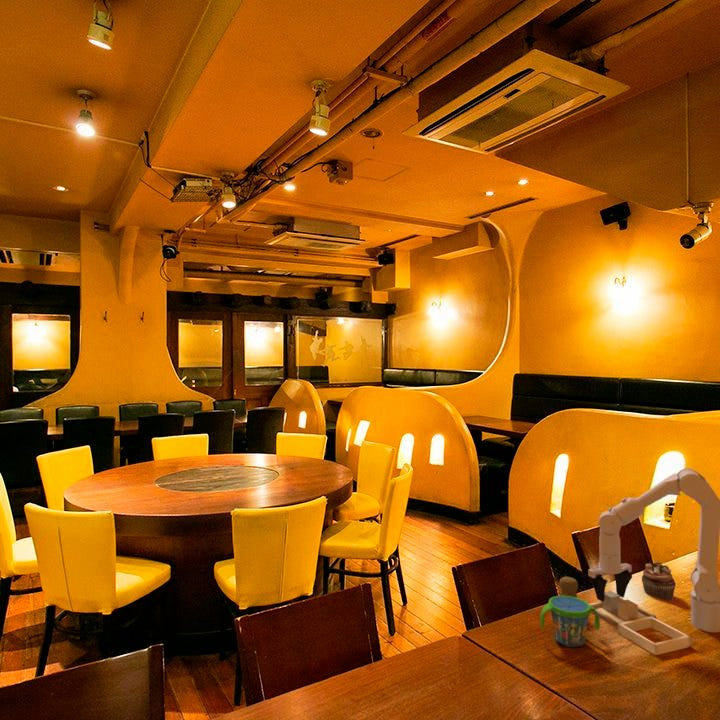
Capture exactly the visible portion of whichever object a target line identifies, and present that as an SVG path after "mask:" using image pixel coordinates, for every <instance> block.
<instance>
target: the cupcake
mask: <svg viewBox="0 0 720 720" xmlns="http://www.w3.org/2000/svg"><path fill="white" fill-rule="evenodd" d="M641 582H642V586H643V587H642V588H643V591H644V593H645V594H646V595H648V596H651V597H654V598H658V599H661V600H663V601H665V602H670V601H672V600H673V599H674V595H675V588H676V585H677V583H676V582H675V579H674V577H673V574H672V570H671V568H669V566H667V565H663V564H662V563H661V562H658V561H657V562H653V563H651V562H648V563H645V568H644V570H643V572H642V575H641Z"/></svg>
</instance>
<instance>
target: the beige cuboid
mask: <svg viewBox="0 0 720 720" xmlns="http://www.w3.org/2000/svg"><path fill="white" fill-rule="evenodd" d="M638 605H639V604H637V603H635V602H633V601H632V600H629V599H624V600H623V601H618V617H619V618H621V619H623V620H625V621H629V620H633V619H638V607H639V606H638Z"/></svg>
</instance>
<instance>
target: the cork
mask: <svg viewBox="0 0 720 720" xmlns="http://www.w3.org/2000/svg"><path fill="white" fill-rule="evenodd" d="M558 584H559V587H560V596H571V597H576V598H578V596H577V591H578V588H579V584H578V581H577V580H576V579H575V578H573V577H572V576H571V577H570V576H563V577H560V579H559V583H558Z"/></svg>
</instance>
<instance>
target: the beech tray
mask: <svg viewBox="0 0 720 720" xmlns="http://www.w3.org/2000/svg"><path fill="white" fill-rule="evenodd" d="M623 600H625V599H624V598H622V597H620V601H623ZM588 604H589V605H591V606H592V607H593V608H594V609H595V610H596V611H597V613H598V615H599V619H601V620H602V621H603V620H604V622H606V623H609V624H610V625H611V626H613V627H615V628H616V629H618V623H623V622H628V621H625V620H623V619H621V618H619V617H618V611H617V612H612V613H610V612H609V611H607V610H605V609H603V608H602V601H597V602H592V603H588ZM590 614H593V615H595V612H594V611H593V610H591V611H590ZM651 616H652V617H654V618H655V619H657V615H654V614H653V613H651V612H648V611H647V610H646V609H643V608H641V607H639V606H638V619H642V618H646V617H651ZM633 620H637V619H633ZM629 621H632V620H629Z"/></svg>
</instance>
